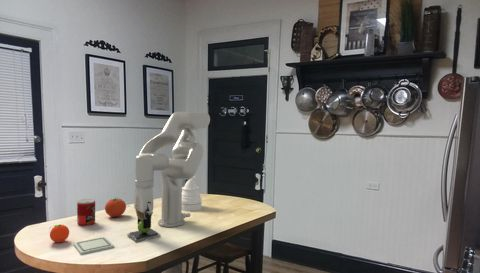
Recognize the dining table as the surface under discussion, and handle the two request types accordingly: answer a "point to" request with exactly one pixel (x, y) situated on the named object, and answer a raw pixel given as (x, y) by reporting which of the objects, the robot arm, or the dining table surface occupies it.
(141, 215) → the snail figurine
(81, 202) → the canned food
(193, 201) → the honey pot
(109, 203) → the tomato
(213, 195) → the dining table surface
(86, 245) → the board
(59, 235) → the clementine
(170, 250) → the dining table surface
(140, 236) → the ink pad
